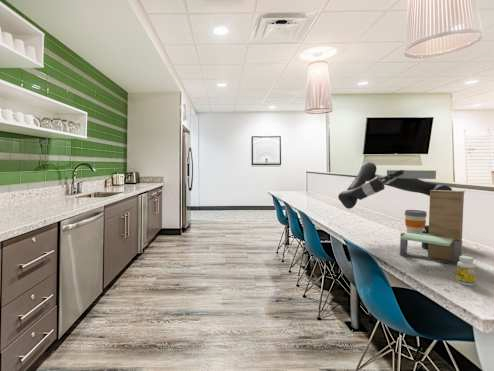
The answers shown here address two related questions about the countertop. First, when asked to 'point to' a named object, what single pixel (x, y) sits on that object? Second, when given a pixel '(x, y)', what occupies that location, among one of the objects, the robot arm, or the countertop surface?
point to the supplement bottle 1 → (426, 231)
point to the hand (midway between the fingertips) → (403, 171)
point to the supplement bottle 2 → (466, 271)
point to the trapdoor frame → (456, 257)
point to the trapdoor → (427, 238)
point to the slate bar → (415, 174)
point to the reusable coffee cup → (415, 221)
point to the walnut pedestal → (445, 221)
